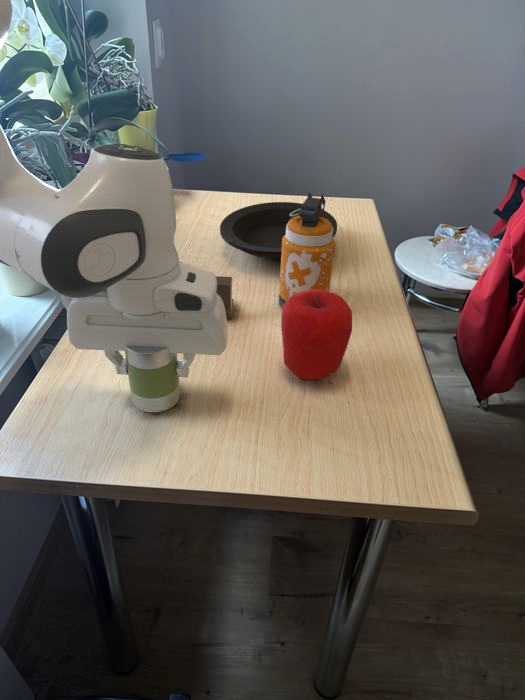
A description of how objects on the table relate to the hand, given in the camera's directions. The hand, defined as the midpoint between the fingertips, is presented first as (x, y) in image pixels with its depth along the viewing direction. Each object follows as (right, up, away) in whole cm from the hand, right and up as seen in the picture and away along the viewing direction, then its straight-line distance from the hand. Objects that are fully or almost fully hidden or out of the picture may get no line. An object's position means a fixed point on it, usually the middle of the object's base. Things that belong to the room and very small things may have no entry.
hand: (153, 373), depth 72 cm
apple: (+22, 0, +9) cm, 24 cm away
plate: (+18, +25, +44) cm, 54 cm away
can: (0, -3, +2) cm, 4 cm away
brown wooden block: (0, +10, +22) cm, 25 cm away
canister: (+23, +12, +26) cm, 36 cm away
